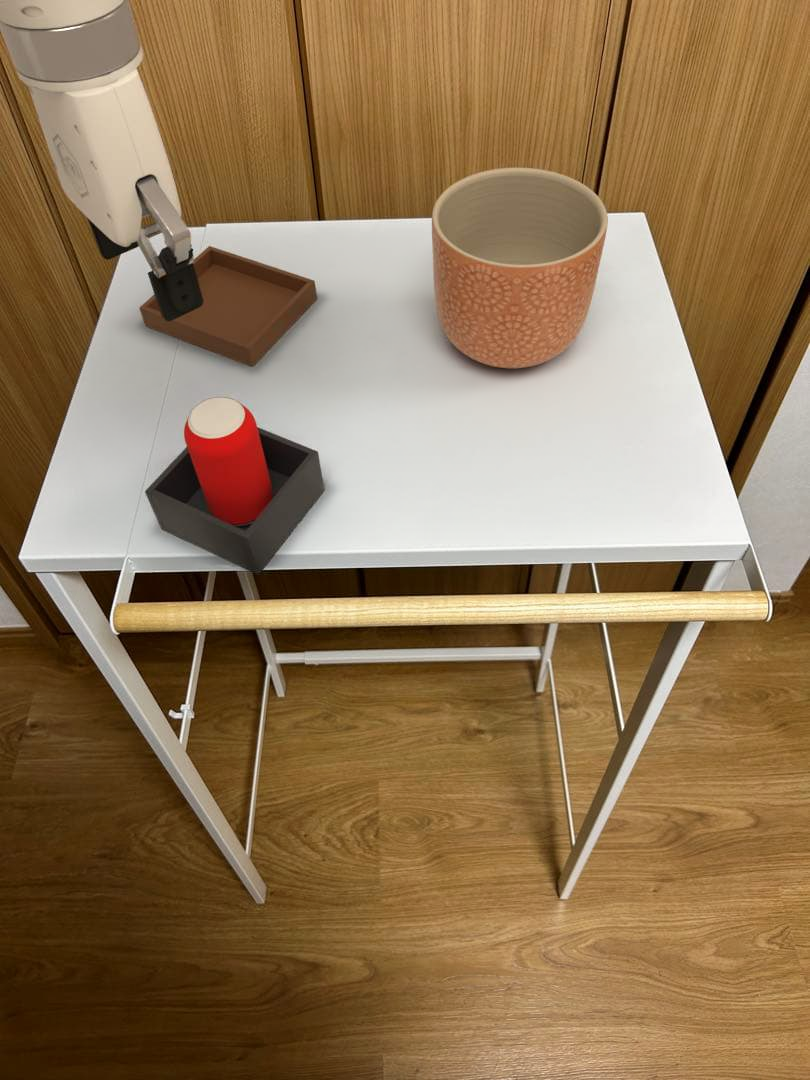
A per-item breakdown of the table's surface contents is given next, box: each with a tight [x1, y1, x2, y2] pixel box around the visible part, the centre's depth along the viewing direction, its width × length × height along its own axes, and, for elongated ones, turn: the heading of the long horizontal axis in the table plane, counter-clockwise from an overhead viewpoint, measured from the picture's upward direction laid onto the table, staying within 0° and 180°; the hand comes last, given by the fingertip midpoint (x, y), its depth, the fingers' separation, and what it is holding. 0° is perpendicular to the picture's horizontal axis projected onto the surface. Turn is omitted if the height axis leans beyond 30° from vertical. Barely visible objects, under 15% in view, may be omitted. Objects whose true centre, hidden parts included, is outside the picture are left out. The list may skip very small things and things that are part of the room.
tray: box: [138, 245, 318, 367], centre depth 96 cm, size 15×13×3 cm
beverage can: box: [183, 396, 273, 526], centre depth 74 cm, size 6×6×12 cm
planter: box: [431, 167, 609, 369], centre depth 87 cm, size 17×17×15 cm
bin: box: [144, 426, 325, 576], centre depth 77 cm, size 11×11×6 cm
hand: (151, 280), depth 63 cm, fingers open, 9 cm apart
